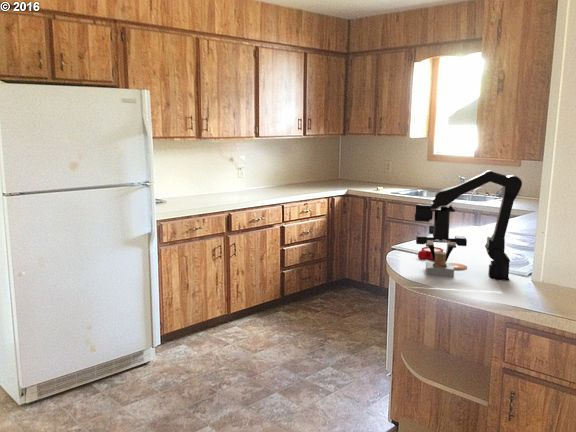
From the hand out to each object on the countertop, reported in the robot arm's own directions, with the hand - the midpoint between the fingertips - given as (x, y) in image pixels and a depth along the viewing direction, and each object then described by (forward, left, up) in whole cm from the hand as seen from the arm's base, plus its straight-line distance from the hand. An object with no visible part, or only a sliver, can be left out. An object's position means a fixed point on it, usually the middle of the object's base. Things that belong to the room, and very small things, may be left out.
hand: (439, 261), depth 207 cm
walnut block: (0, 0, -4) cm, 4 cm away
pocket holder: (0, 0, -5) cm, 5 cm away
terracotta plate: (-7, -10, -5) cm, 13 cm away
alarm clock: (+2, -25, -6) cm, 26 cm away
